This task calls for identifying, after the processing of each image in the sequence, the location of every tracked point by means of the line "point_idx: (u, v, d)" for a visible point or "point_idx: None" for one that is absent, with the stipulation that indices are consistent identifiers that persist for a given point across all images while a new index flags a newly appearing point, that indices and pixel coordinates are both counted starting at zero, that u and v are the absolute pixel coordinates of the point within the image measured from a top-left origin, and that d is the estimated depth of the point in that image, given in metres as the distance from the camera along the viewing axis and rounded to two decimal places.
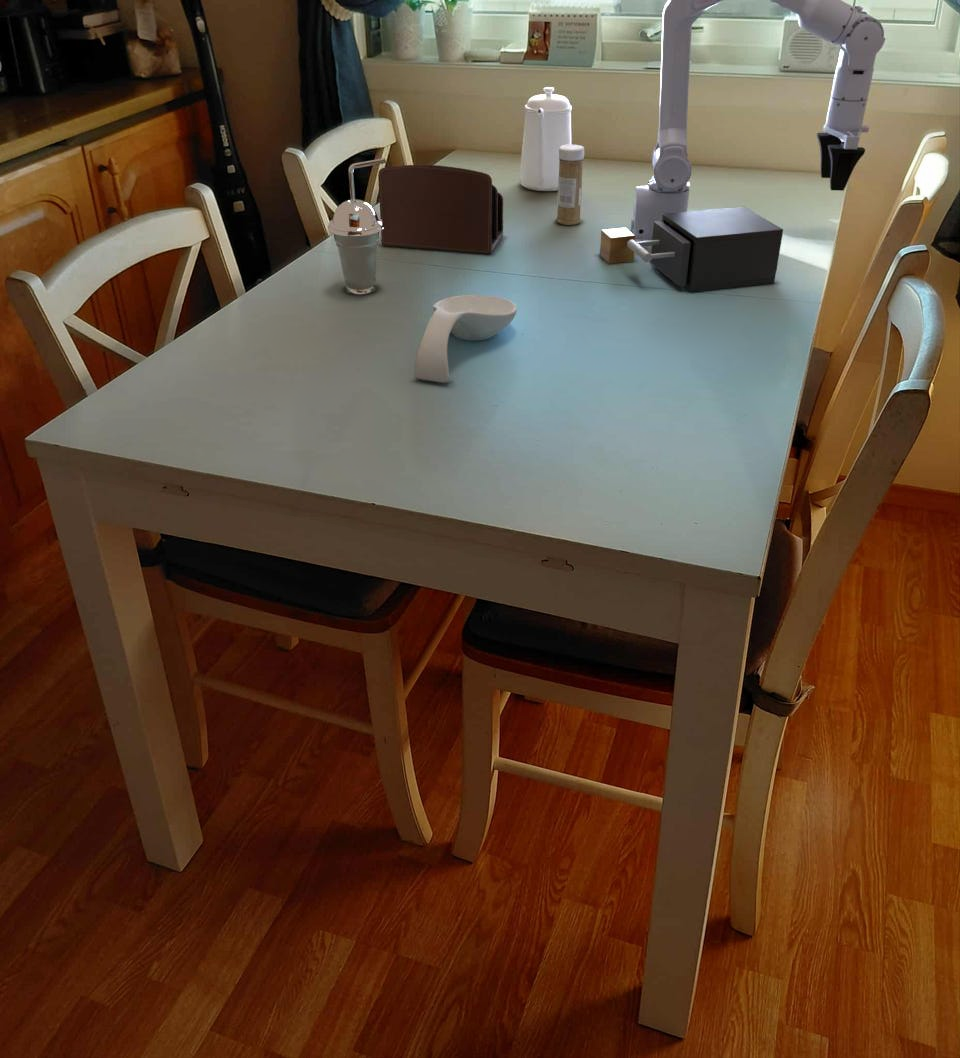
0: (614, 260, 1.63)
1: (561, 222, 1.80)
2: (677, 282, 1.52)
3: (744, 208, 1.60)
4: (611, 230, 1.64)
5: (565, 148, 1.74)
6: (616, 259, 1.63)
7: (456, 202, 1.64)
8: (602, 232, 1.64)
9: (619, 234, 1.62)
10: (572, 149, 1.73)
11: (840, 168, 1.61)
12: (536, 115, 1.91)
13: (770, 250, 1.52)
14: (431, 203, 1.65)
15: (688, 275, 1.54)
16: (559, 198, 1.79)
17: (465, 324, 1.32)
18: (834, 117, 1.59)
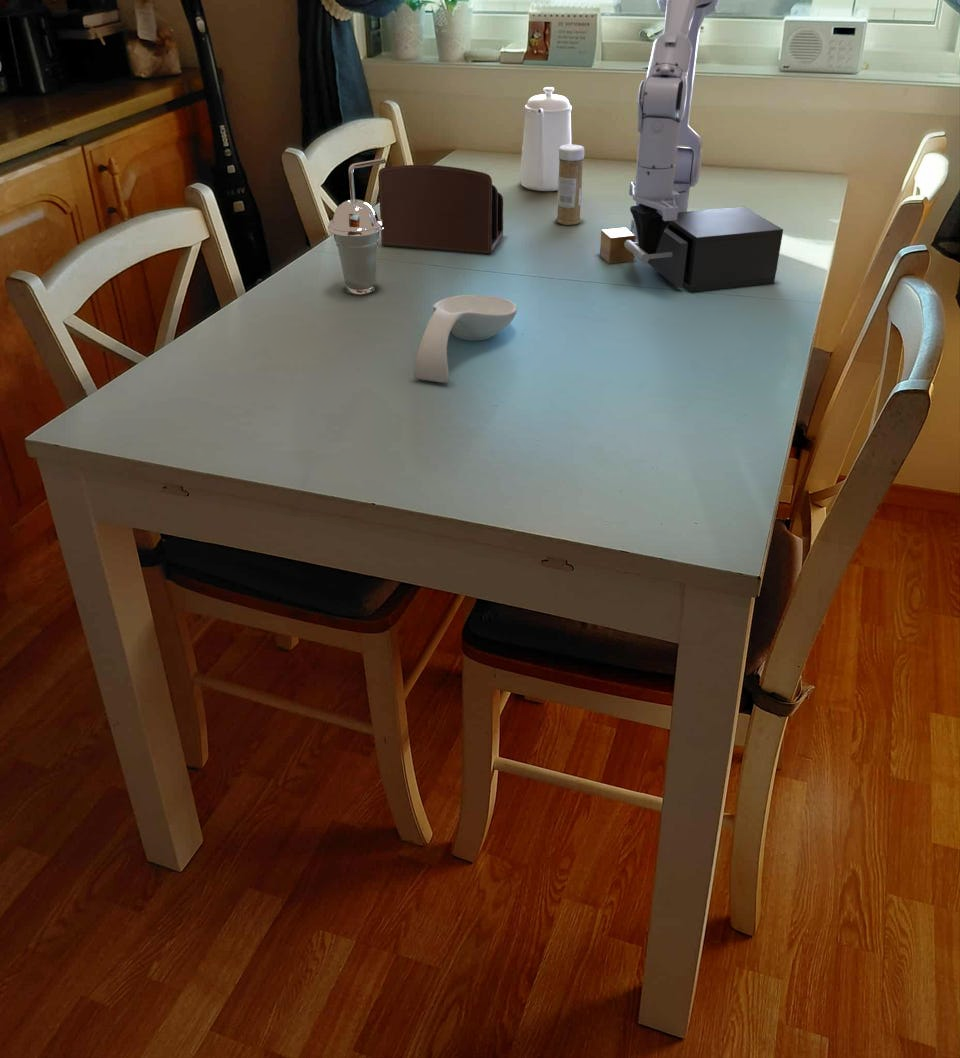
0: (614, 260, 1.63)
1: (561, 222, 1.80)
2: (674, 282, 1.52)
3: (744, 208, 1.60)
4: (611, 230, 1.64)
5: (565, 148, 1.74)
6: (616, 259, 1.63)
7: (456, 202, 1.64)
8: (602, 232, 1.64)
9: (619, 234, 1.62)
10: (572, 149, 1.73)
11: (650, 232, 1.51)
12: (536, 115, 1.91)
13: (770, 250, 1.52)
14: (432, 203, 1.65)
15: (685, 275, 1.54)
16: (559, 198, 1.79)
17: (465, 324, 1.32)
18: (645, 186, 1.46)
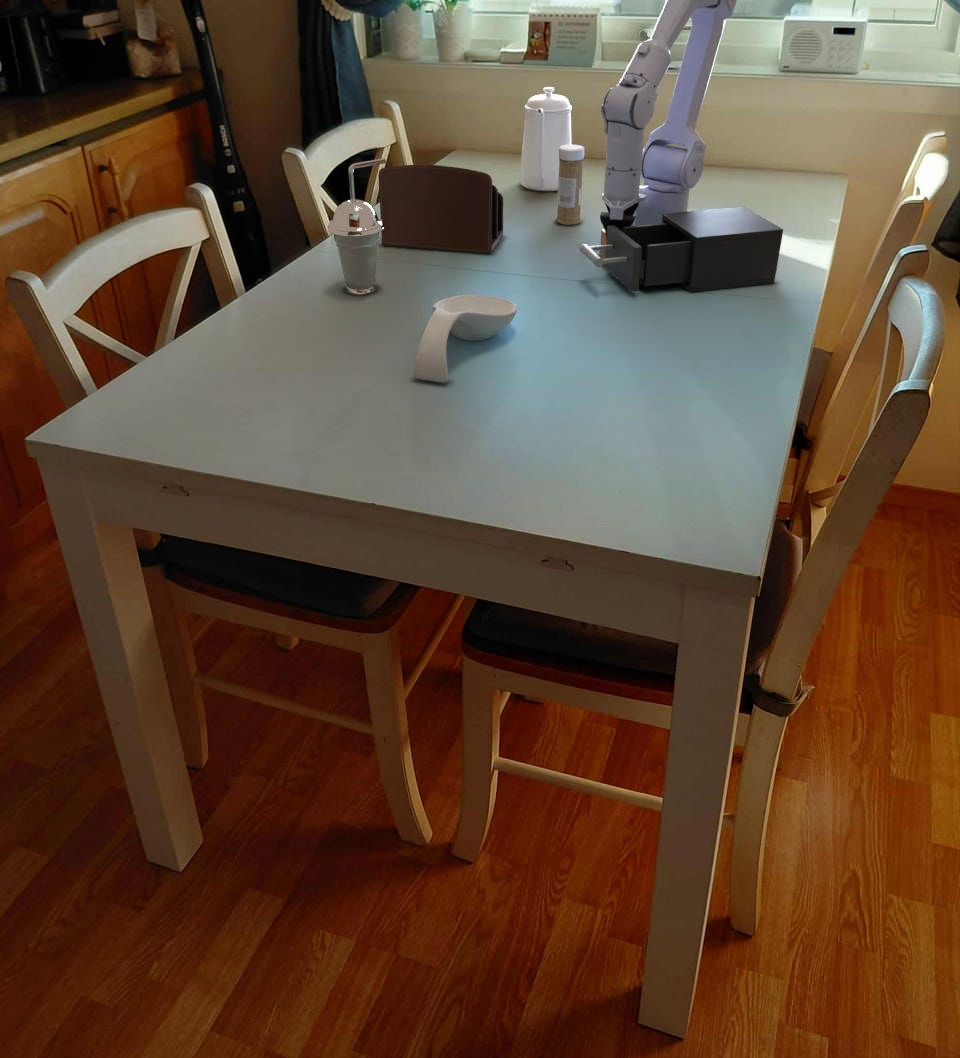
0: None
1: (561, 222, 1.80)
2: (629, 287, 1.51)
3: (744, 208, 1.60)
4: None
5: (565, 148, 1.74)
6: None
7: (456, 202, 1.64)
8: (602, 232, 1.64)
9: None
10: (572, 149, 1.73)
11: None
12: (536, 115, 1.91)
13: (770, 250, 1.52)
14: (432, 203, 1.65)
15: (641, 280, 1.52)
16: (559, 198, 1.79)
17: (465, 324, 1.32)
18: (607, 185, 1.57)
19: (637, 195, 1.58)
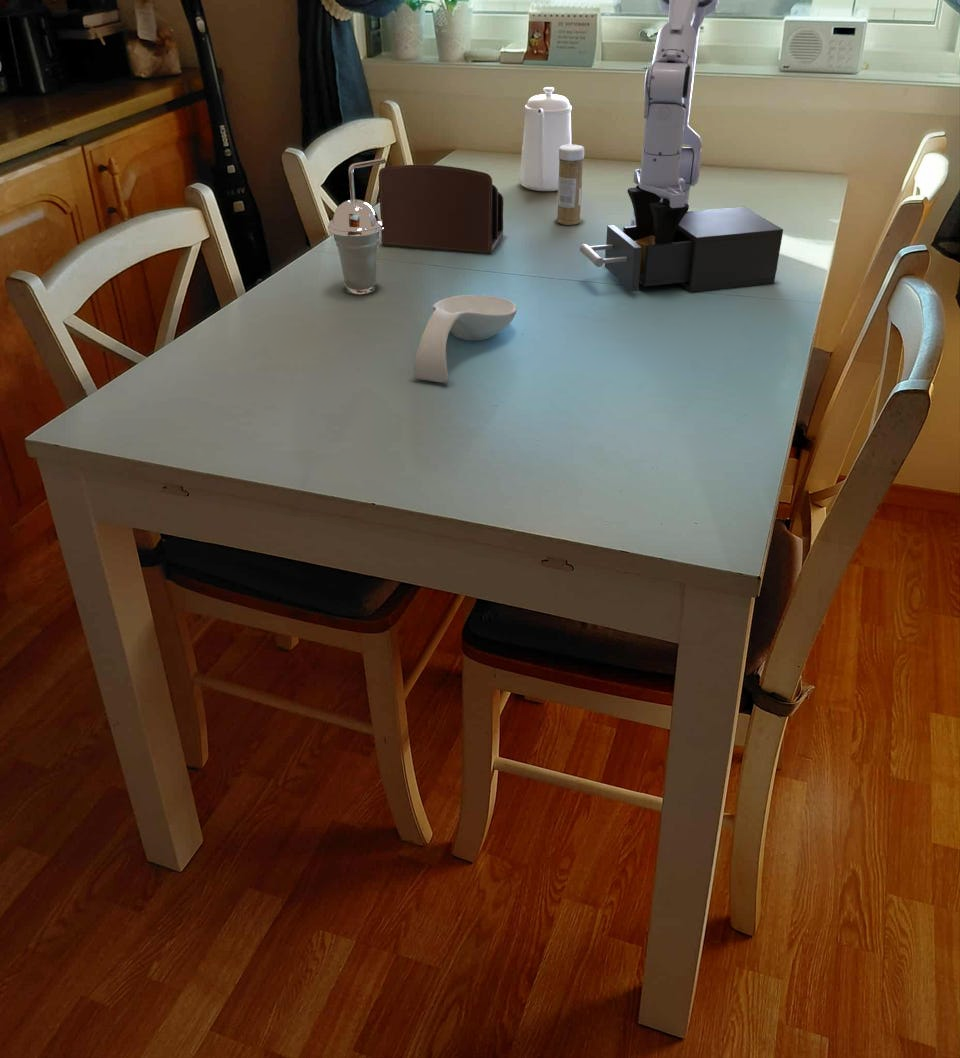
0: None
1: (561, 222, 1.80)
2: (629, 287, 1.51)
3: (744, 208, 1.60)
4: (643, 240, 1.53)
5: (565, 148, 1.74)
6: None
7: (456, 202, 1.64)
8: None
9: None
10: (572, 149, 1.73)
11: (664, 226, 1.48)
12: (536, 115, 1.91)
13: (770, 250, 1.52)
14: (432, 203, 1.65)
15: (641, 280, 1.52)
16: (559, 198, 1.79)
17: (464, 324, 1.32)
18: (652, 173, 1.45)
19: (677, 179, 1.48)
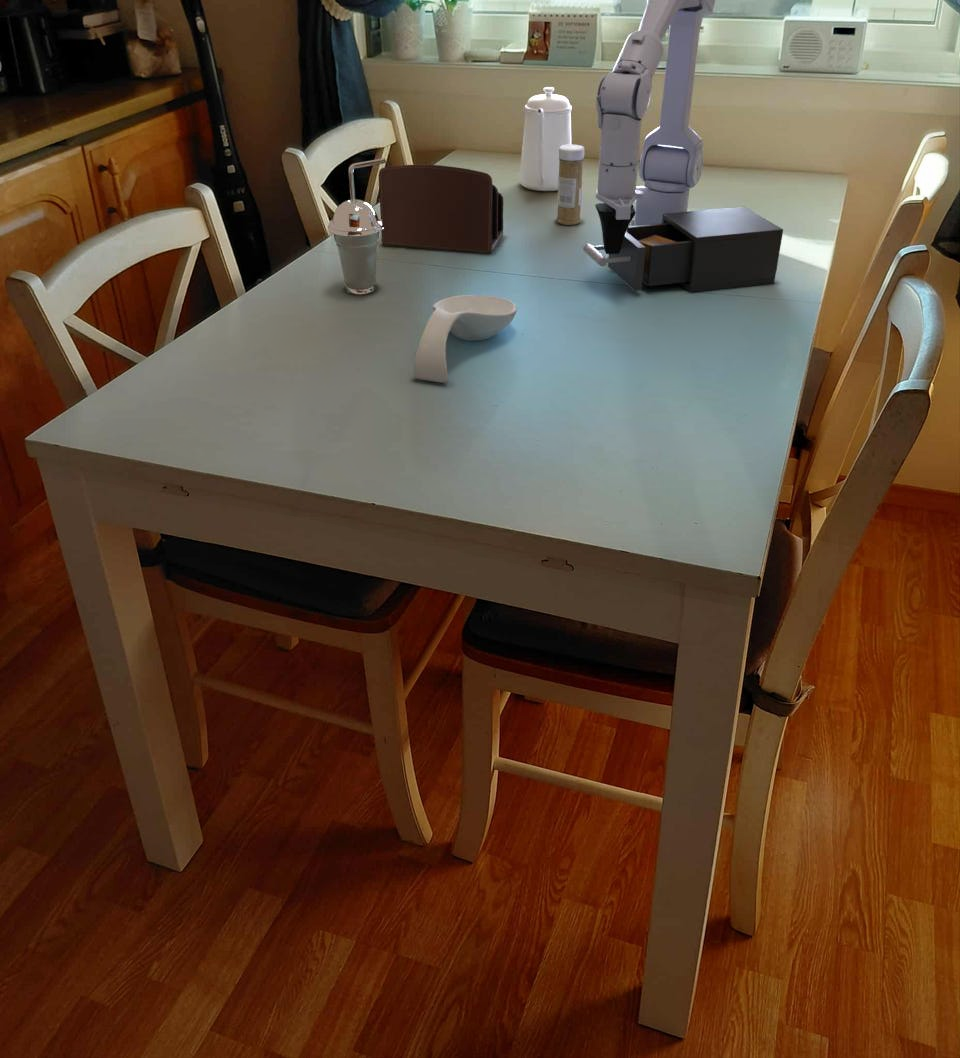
0: None
1: (561, 222, 1.80)
2: (633, 287, 1.51)
3: (744, 208, 1.60)
4: (647, 240, 1.53)
5: (565, 148, 1.74)
6: None
7: (456, 202, 1.64)
8: None
9: (660, 243, 1.52)
10: (572, 149, 1.73)
11: (612, 231, 1.49)
12: (536, 115, 1.91)
13: (770, 250, 1.52)
14: (432, 203, 1.65)
15: (644, 280, 1.52)
16: (559, 198, 1.79)
17: (464, 324, 1.32)
18: (605, 183, 1.44)
19: (635, 191, 1.46)
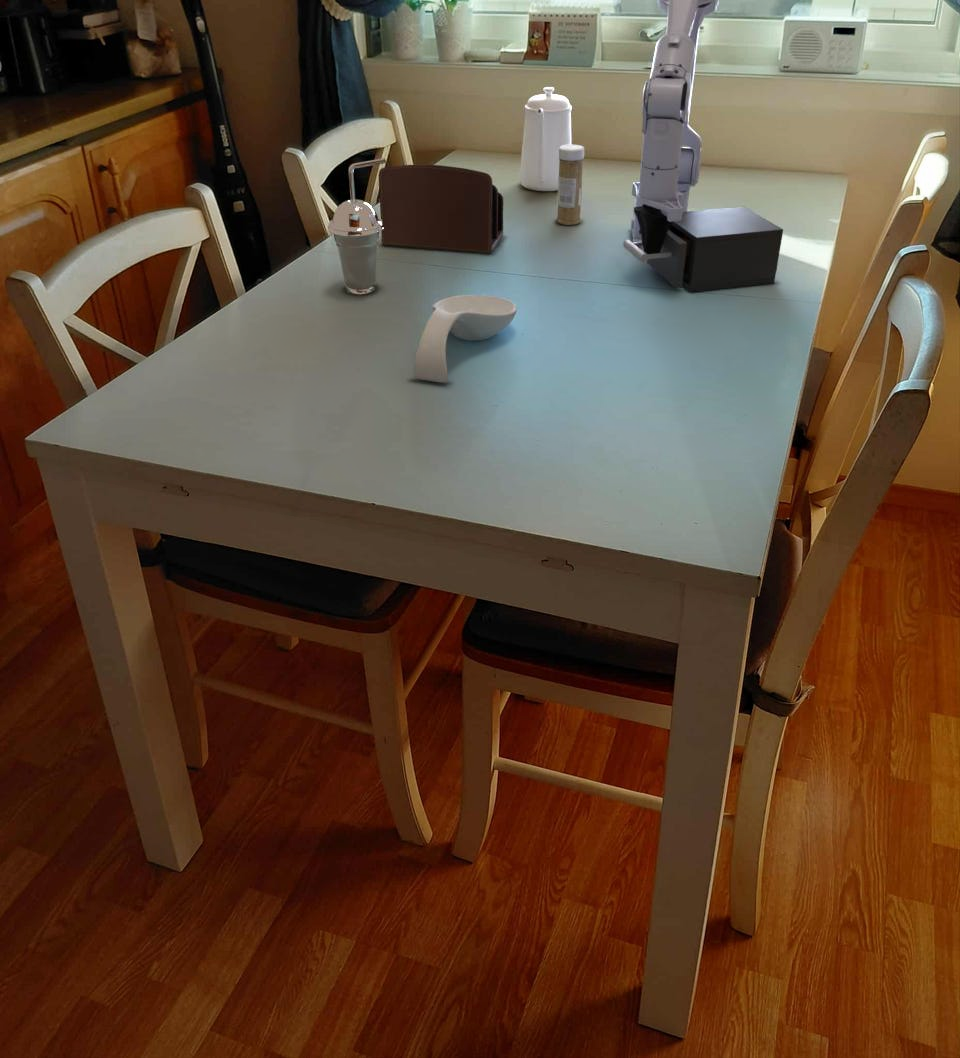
0: None
1: (561, 222, 1.80)
2: (673, 282, 1.52)
3: (744, 208, 1.60)
4: (686, 236, 1.55)
5: (565, 148, 1.74)
6: None
7: (456, 202, 1.64)
8: None
9: None
10: (572, 149, 1.73)
11: (654, 233, 1.51)
12: (536, 115, 1.91)
13: (770, 250, 1.52)
14: (432, 203, 1.65)
15: (684, 275, 1.54)
16: (559, 198, 1.79)
17: (464, 324, 1.32)
18: (650, 186, 1.46)
19: (675, 193, 1.49)
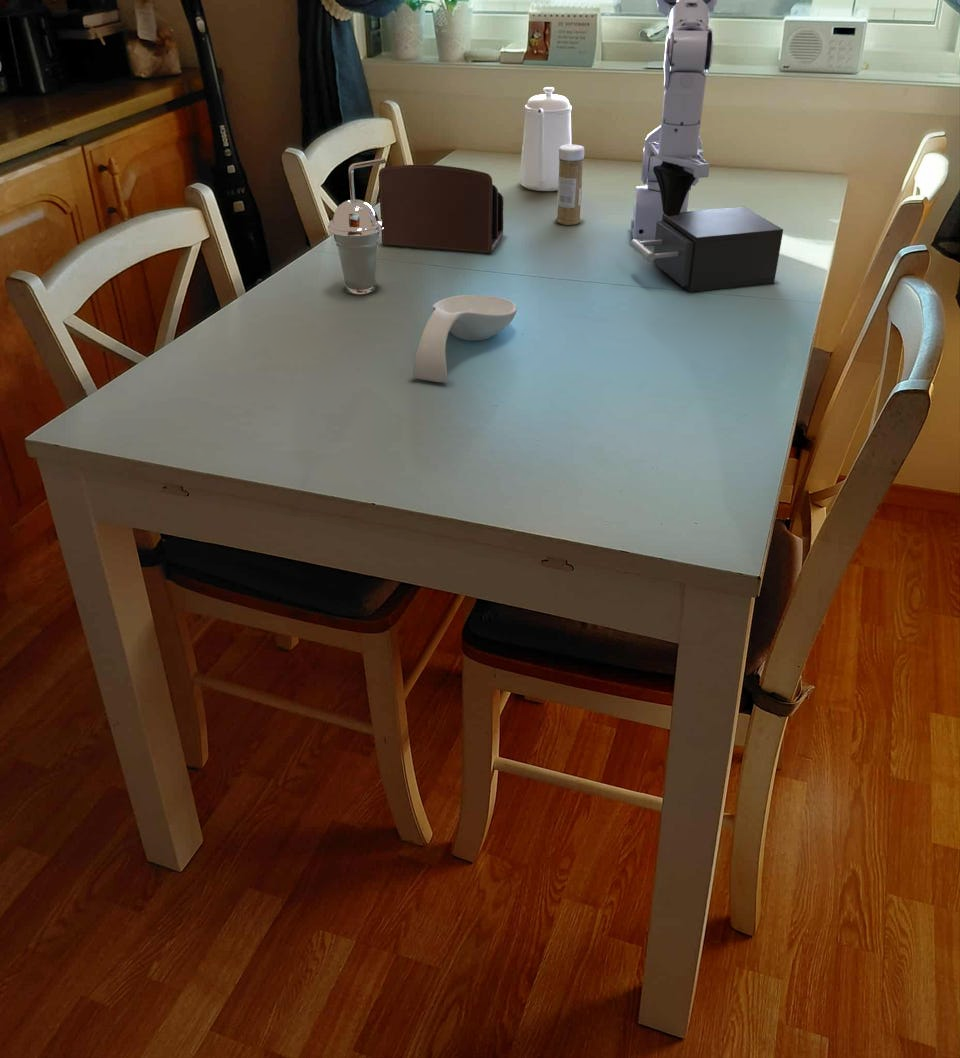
0: None
1: (561, 222, 1.80)
2: (680, 282, 1.52)
3: (744, 208, 1.60)
4: None
5: (565, 148, 1.74)
6: None
7: (456, 202, 1.64)
8: None
9: None
10: (572, 149, 1.73)
11: (675, 192, 1.48)
12: (536, 115, 1.91)
13: (770, 250, 1.52)
14: (432, 203, 1.65)
15: None
16: (559, 198, 1.79)
17: (464, 324, 1.32)
18: (673, 143, 1.43)
19: None
